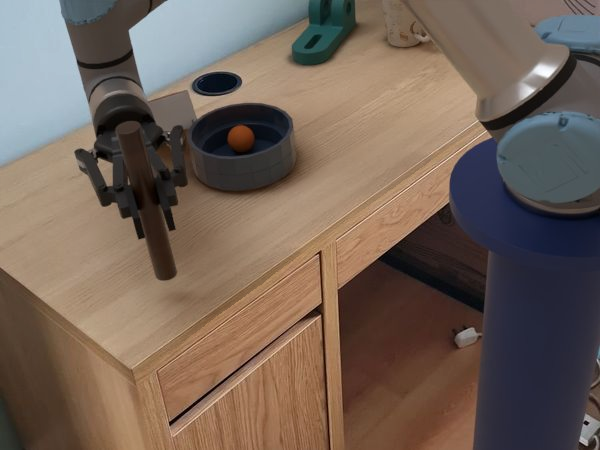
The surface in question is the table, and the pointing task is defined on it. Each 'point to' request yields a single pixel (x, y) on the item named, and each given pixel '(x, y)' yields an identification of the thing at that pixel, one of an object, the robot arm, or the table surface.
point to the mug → (401, 25)
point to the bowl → (242, 165)
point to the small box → (173, 111)
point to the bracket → (324, 30)
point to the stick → (146, 198)
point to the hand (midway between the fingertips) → (154, 224)
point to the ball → (241, 138)
